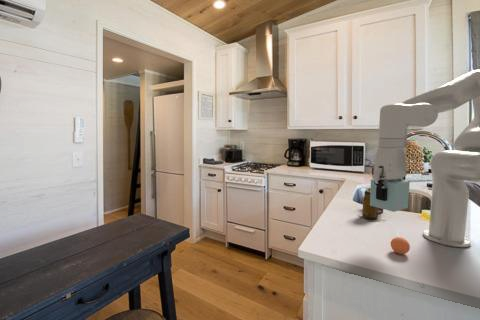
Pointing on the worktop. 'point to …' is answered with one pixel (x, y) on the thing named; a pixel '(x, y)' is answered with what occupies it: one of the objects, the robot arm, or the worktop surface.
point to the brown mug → (369, 209)
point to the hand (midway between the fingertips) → (389, 197)
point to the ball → (400, 245)
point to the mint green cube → (392, 195)
